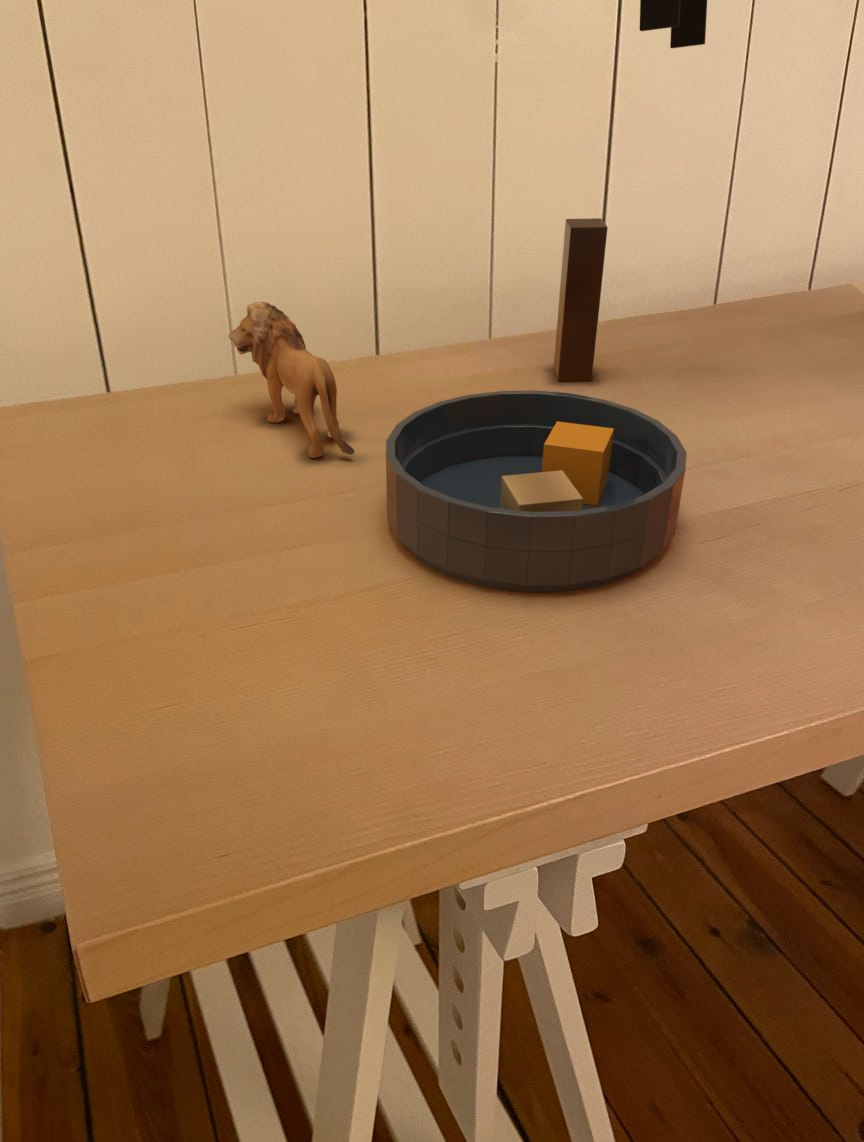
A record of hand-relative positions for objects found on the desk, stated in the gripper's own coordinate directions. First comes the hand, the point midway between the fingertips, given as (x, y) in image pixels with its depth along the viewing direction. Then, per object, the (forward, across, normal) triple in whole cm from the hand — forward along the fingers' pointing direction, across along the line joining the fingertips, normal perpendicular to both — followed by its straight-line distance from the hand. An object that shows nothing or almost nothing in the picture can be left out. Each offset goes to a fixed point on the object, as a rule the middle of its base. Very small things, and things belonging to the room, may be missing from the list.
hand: (674, 38), depth 78 cm
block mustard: (+29, +24, -2) cm, 38 cm away
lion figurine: (+27, +21, -26) cm, 42 cm away
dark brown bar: (+26, +1, -8) cm, 27 cm away
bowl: (+30, +28, -4) cm, 42 cm away
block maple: (+31, +33, -2) cm, 45 cm away
